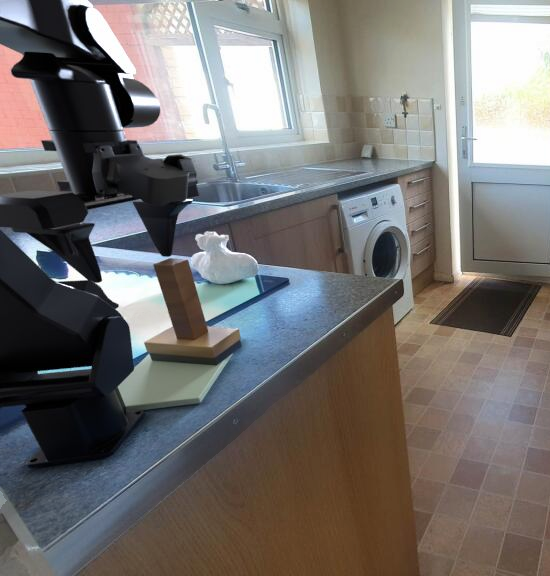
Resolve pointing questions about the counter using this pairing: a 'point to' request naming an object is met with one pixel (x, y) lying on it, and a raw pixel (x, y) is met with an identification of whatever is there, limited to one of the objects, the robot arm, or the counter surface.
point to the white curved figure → (221, 260)
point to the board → (167, 384)
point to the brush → (188, 322)
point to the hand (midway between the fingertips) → (134, 268)
